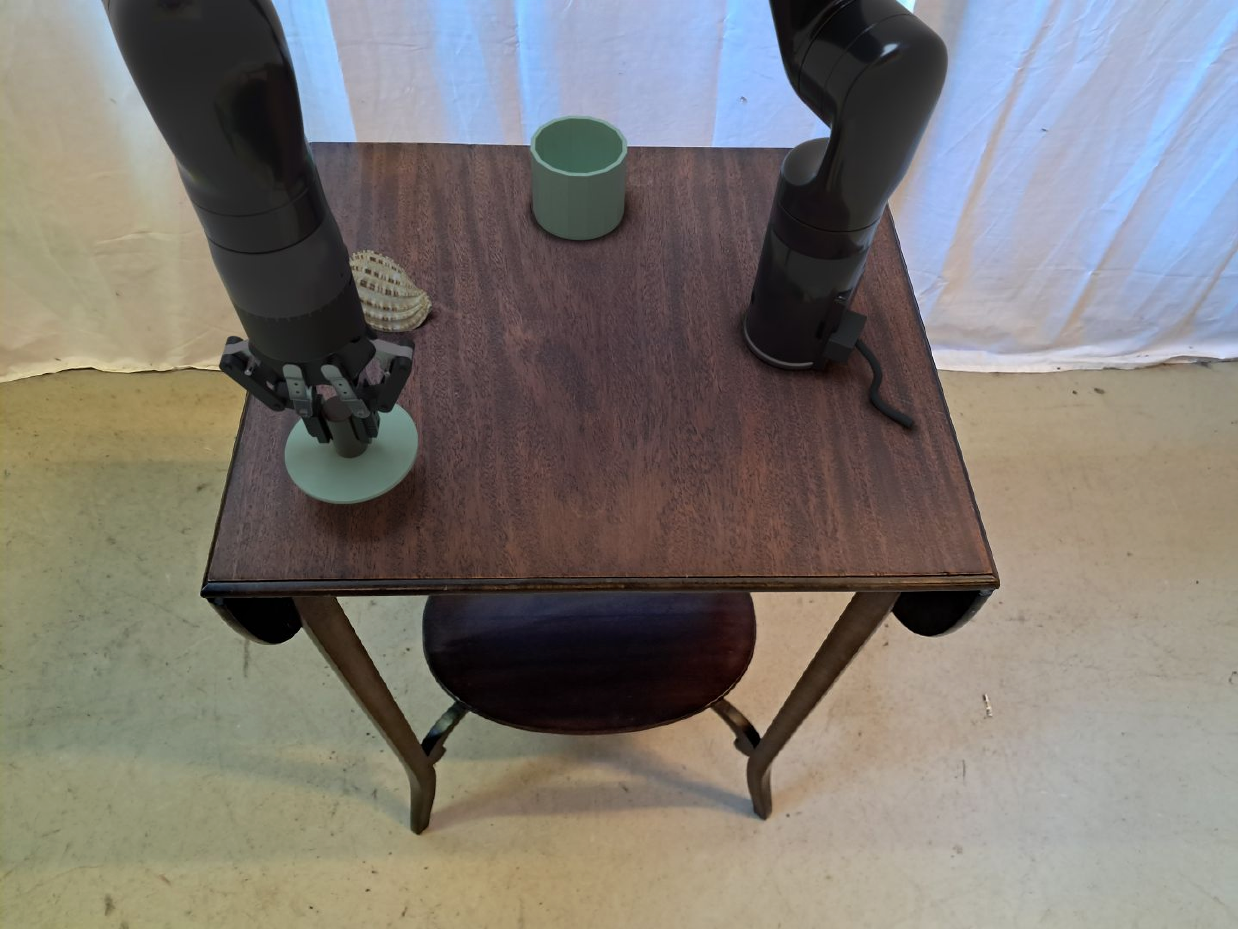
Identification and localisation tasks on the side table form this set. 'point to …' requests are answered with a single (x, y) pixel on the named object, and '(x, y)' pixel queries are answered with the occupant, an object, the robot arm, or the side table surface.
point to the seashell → (388, 293)
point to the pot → (578, 176)
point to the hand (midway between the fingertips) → (347, 434)
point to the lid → (351, 455)
